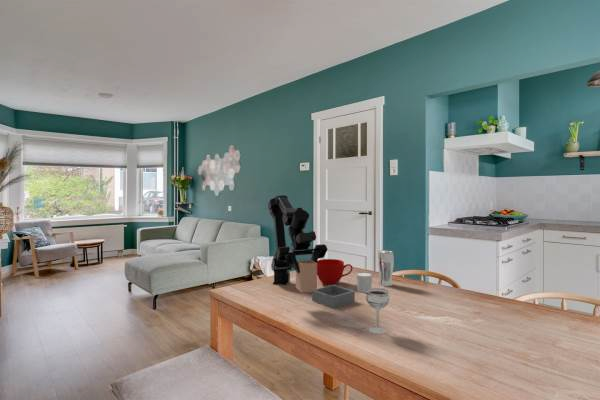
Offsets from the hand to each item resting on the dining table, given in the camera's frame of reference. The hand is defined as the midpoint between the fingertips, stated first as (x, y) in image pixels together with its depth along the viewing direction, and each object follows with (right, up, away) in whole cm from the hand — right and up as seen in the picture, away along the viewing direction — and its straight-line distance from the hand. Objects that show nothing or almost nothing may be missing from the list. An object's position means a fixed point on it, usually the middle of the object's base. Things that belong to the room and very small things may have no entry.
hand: (307, 272), depth 119 cm
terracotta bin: (0, -7, +1) cm, 7 cm away
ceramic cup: (+13, -13, +33) cm, 38 cm away
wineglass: (+21, -14, -18) cm, 31 cm away
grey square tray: (+10, -13, +9) cm, 19 cm away
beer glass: (+36, -13, +30) cm, 49 cm away
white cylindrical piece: (+25, -13, +22) cm, 35 cm away
